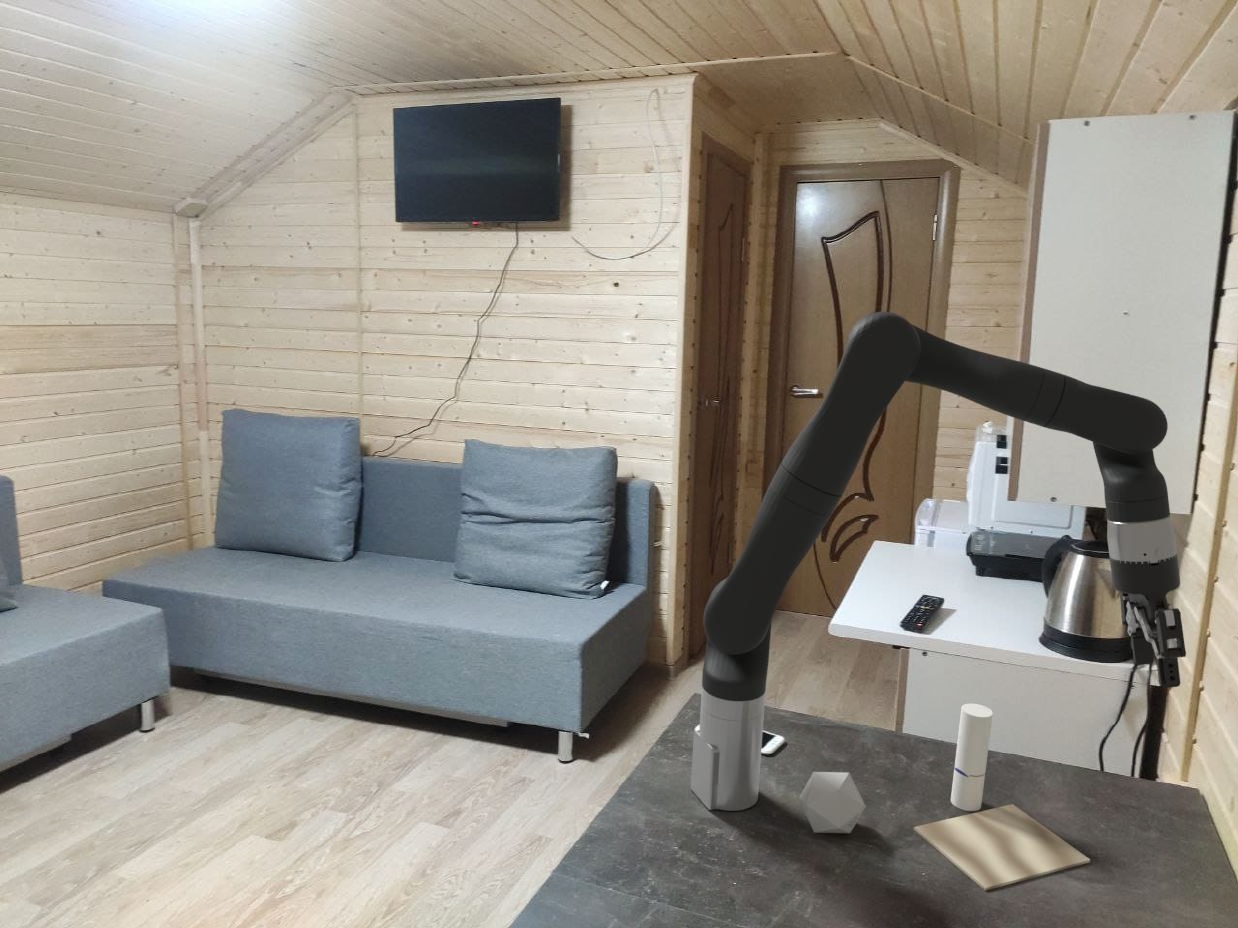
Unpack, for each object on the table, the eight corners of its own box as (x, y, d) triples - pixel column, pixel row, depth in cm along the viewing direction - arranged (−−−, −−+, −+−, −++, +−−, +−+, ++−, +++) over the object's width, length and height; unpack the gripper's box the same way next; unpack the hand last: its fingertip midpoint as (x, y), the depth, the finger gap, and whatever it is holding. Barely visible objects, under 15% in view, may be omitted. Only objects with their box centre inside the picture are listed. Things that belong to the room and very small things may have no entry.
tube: (980, 798, 140) (992, 706, 137) (981, 813, 136) (993, 719, 133) (950, 792, 142) (961, 701, 139) (950, 807, 138) (961, 713, 135)
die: (848, 857, 126) (884, 795, 128) (794, 821, 127) (830, 759, 128) (832, 842, 134) (866, 784, 136) (782, 808, 135) (816, 750, 136)
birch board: (985, 890, 119) (985, 887, 119) (913, 829, 132) (913, 826, 132) (1089, 861, 126) (1090, 859, 126) (1012, 806, 139) (1012, 803, 138)
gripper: (1092, 544, 126) (1106, 659, 127) (1130, 568, 112) (1146, 697, 113) (1152, 536, 124) (1166, 653, 126) (1198, 560, 111) (1213, 691, 112)
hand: (1156, 674), depth 120 cm, fingers open, 8 cm apart
